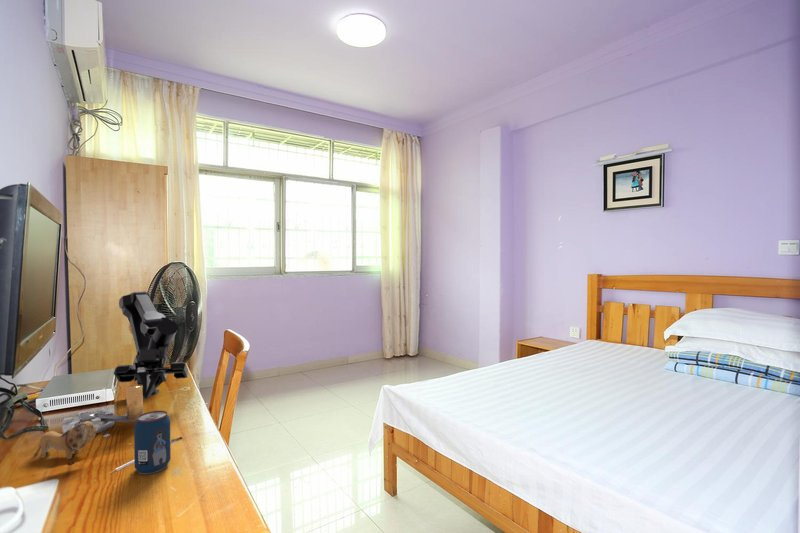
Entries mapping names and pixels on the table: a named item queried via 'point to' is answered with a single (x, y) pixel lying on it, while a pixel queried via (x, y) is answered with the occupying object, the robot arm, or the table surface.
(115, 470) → the pencil
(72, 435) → the lion figurine
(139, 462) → the soda can
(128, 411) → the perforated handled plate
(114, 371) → the robot arm
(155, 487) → the table surface
